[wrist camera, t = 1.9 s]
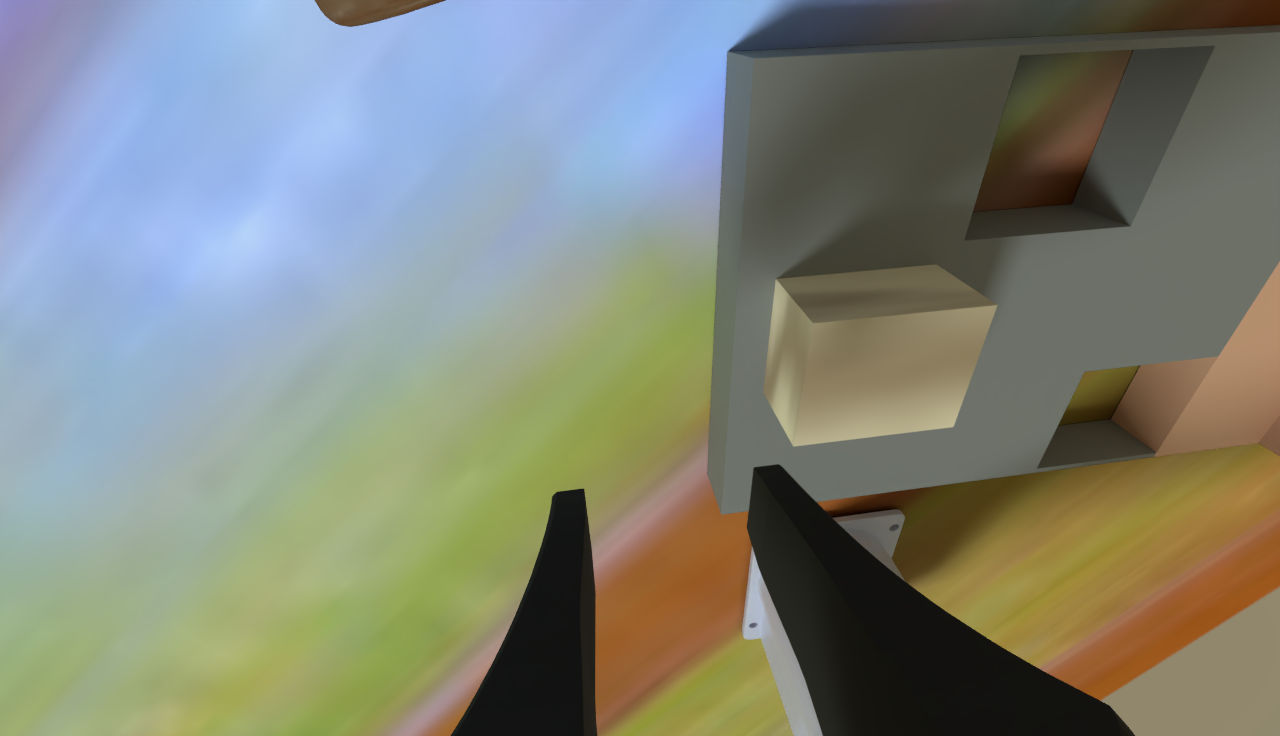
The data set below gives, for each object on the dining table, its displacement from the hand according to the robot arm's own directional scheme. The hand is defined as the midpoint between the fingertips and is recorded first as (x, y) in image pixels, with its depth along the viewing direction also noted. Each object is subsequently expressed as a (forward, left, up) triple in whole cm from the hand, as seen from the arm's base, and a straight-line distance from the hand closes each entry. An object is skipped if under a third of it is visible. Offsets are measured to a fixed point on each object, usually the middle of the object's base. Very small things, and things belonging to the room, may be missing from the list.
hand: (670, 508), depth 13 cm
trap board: (0, -17, -9) cm, 19 cm away
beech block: (0, -8, -7) cm, 10 cm away
